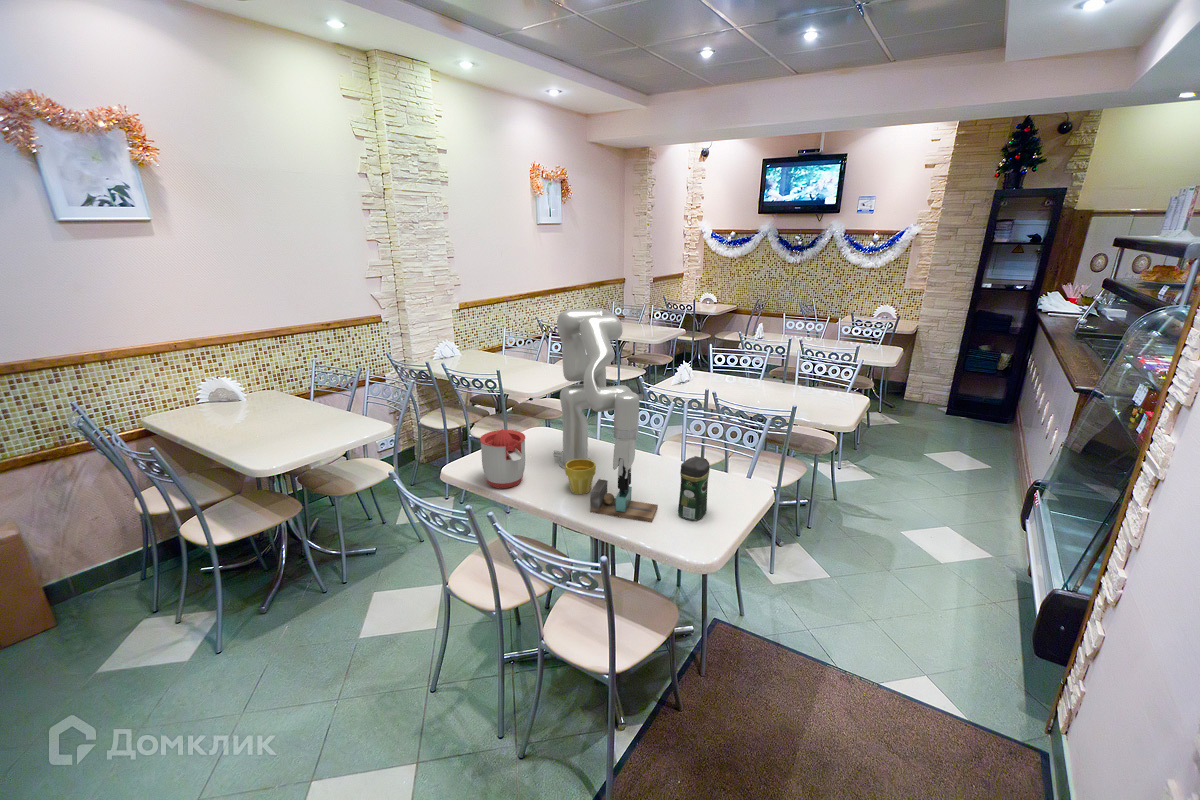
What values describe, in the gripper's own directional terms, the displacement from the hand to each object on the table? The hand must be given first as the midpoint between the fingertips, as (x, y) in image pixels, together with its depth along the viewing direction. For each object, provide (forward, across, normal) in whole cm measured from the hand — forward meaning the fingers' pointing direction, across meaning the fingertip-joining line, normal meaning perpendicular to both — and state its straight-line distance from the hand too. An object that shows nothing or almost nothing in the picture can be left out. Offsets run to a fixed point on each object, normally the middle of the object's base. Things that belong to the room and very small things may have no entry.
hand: (624, 486), depth 163 cm
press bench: (+9, 0, 0) cm, 9 cm away
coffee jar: (+9, -5, +21) cm, 24 cm away
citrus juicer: (+9, -6, -45) cm, 46 cm away
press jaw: (+7, 0, 0) cm, 7 cm away
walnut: (+7, 0, -5) cm, 9 cm away
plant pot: (+9, -9, -18) cm, 22 cm away
